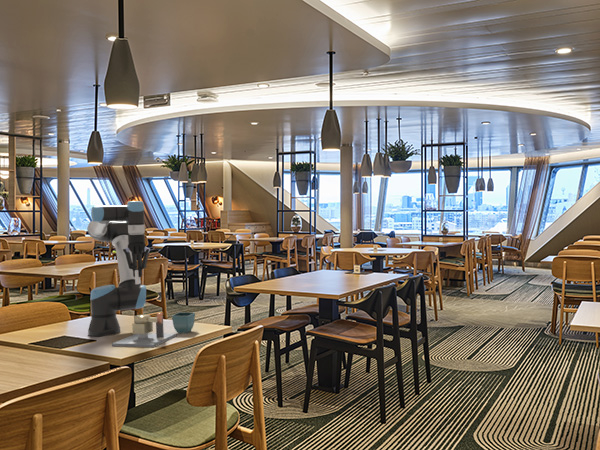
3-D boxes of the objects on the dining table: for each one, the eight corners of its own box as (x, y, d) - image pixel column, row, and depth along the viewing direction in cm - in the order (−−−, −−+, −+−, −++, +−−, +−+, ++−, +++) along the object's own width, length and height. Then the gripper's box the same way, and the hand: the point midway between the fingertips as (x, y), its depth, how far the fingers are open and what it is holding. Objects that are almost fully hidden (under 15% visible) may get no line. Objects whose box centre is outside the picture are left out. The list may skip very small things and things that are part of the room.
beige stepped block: (131, 333, 254) (130, 313, 254) (141, 330, 261) (140, 311, 260) (157, 335, 249) (157, 314, 249) (167, 331, 255) (166, 312, 255)
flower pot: (189, 334, 268) (188, 315, 268) (171, 334, 269) (171, 315, 269) (196, 330, 276) (195, 312, 276) (179, 330, 278) (178, 312, 278)
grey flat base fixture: (112, 346, 247) (111, 321, 247) (137, 335, 269) (136, 312, 269) (153, 347, 243) (152, 322, 242) (176, 336, 264) (175, 313, 264)
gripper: (119, 234, 259) (121, 285, 260) (146, 234, 257) (148, 285, 258) (126, 233, 266) (128, 282, 267) (152, 233, 265) (154, 282, 266)
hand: (137, 283), depth 263 cm, fingers closed
